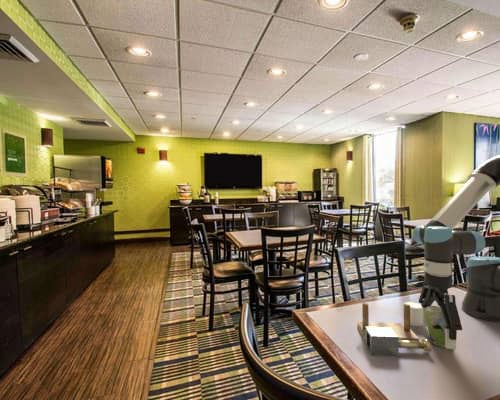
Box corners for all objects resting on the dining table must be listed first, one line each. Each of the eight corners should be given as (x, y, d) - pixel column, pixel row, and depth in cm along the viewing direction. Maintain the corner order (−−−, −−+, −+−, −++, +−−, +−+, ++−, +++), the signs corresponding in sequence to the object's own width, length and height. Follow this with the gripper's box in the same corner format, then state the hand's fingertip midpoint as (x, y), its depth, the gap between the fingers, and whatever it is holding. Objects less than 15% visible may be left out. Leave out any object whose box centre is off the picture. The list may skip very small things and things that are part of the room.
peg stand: (405, 328, 98) (404, 299, 97) (418, 344, 88) (418, 311, 87) (357, 326, 100) (357, 298, 99) (365, 341, 90) (365, 310, 89)
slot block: (390, 345, 87) (390, 327, 87) (398, 356, 81) (398, 337, 81) (365, 344, 88) (365, 326, 88) (371, 355, 82) (371, 336, 82)
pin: (424, 347, 85) (424, 336, 85) (431, 354, 81) (431, 343, 81) (390, 346, 86) (390, 335, 86) (395, 352, 83) (395, 341, 82)
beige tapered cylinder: (423, 320, 103) (423, 302, 103) (426, 328, 97) (426, 309, 97) (403, 317, 106) (402, 300, 106) (405, 325, 100) (404, 306, 100)
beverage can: (456, 350, 84) (455, 313, 84) (430, 347, 85) (430, 311, 85) (445, 339, 90) (445, 304, 90) (421, 337, 92) (421, 303, 91)
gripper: (408, 263, 100) (408, 318, 100) (449, 286, 75) (449, 359, 76) (429, 263, 99) (429, 318, 99) (477, 287, 74) (477, 360, 75)
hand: (437, 336), depth 88 cm, fingers open, 13 cm apart
